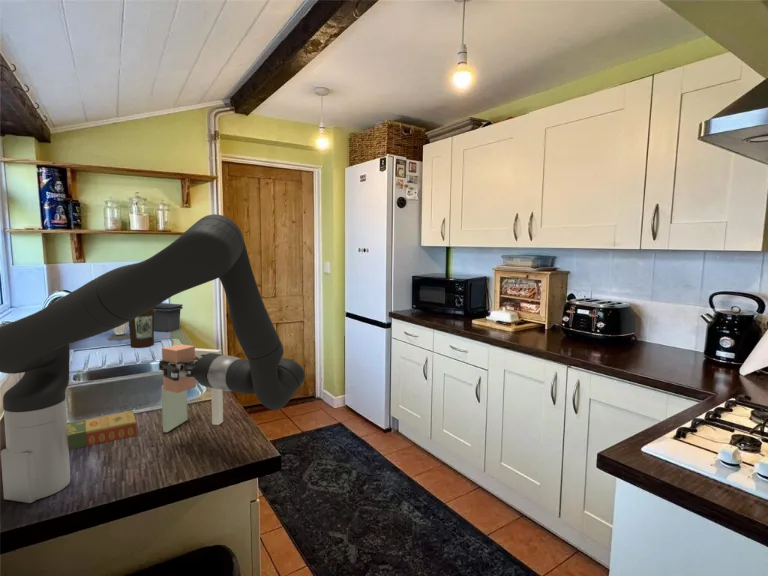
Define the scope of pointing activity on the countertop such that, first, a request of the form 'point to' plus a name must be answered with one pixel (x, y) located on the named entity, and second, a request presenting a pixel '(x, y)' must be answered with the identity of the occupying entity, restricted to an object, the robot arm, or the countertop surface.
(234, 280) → the robot arm
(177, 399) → the door
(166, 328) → the storage bin
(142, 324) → the olive oil
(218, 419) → the door frame
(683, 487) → the countertop surface
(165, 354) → the block
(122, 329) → the cup
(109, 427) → the carton
